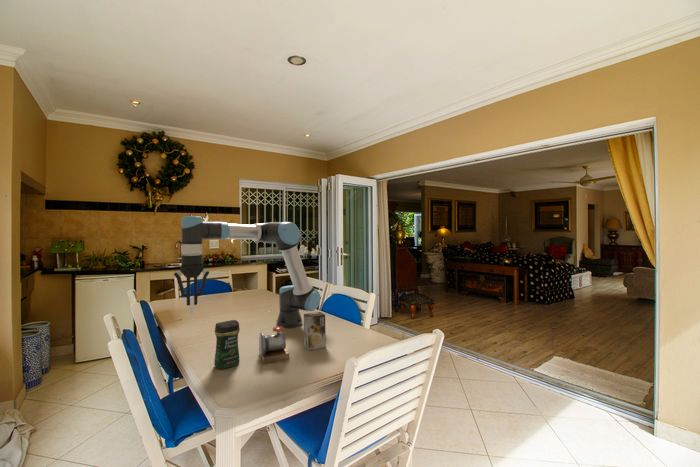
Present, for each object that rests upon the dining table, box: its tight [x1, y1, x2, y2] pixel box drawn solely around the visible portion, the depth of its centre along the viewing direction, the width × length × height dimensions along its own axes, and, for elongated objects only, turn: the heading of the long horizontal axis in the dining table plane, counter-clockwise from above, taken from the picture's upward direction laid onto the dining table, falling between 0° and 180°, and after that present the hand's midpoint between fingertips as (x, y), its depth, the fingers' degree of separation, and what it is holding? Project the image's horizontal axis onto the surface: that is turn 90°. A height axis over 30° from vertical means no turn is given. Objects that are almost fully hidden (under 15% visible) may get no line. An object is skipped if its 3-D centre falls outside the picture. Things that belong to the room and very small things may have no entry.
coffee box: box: [303, 311, 327, 351], centre depth 154 cm, size 9×6×16 cm
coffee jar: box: [213, 319, 240, 370], centre depth 133 cm, size 10×8×19 cm
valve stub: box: [258, 325, 290, 365], centre depth 142 cm, size 11×12×13 cm
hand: (192, 313), depth 128 cm, fingers closed
